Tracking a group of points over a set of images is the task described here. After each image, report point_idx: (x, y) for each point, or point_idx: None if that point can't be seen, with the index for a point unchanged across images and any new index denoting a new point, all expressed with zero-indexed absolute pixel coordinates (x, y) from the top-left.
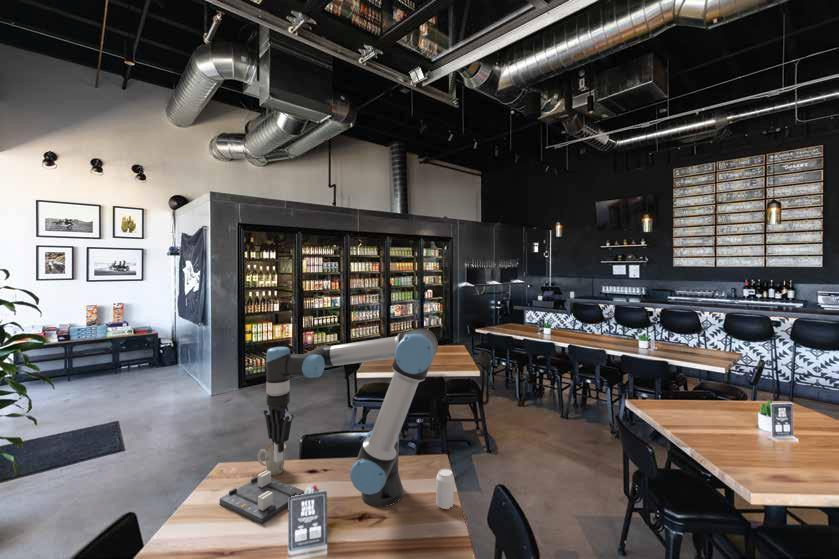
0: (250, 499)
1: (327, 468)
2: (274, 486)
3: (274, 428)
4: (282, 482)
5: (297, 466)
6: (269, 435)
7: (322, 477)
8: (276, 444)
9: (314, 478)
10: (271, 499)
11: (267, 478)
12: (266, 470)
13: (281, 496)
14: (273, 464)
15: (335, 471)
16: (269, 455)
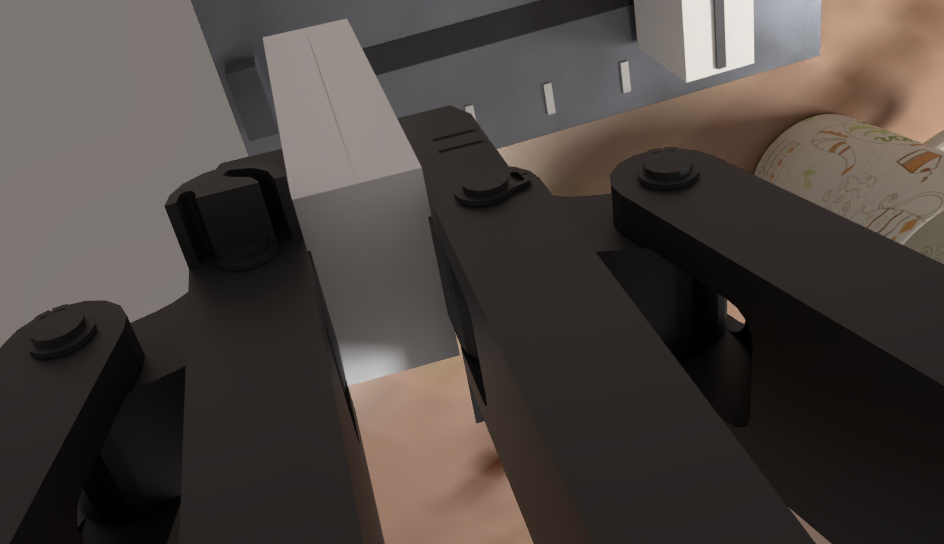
0: None
1: (506, 478)
2: (554, 42)
3: (565, 490)
4: (556, 129)
5: None
6: (703, 196)
7: (421, 408)
8: (211, 172)
9: (457, 360)
10: None
11: (660, 20)
12: (749, 57)
13: (334, 10)
14: (825, 178)
15: (421, 504)
16: (917, 188)
